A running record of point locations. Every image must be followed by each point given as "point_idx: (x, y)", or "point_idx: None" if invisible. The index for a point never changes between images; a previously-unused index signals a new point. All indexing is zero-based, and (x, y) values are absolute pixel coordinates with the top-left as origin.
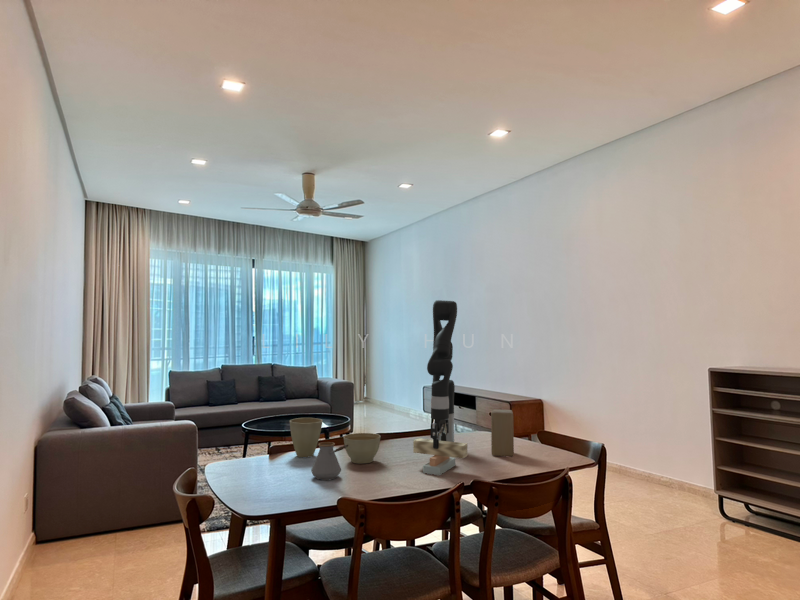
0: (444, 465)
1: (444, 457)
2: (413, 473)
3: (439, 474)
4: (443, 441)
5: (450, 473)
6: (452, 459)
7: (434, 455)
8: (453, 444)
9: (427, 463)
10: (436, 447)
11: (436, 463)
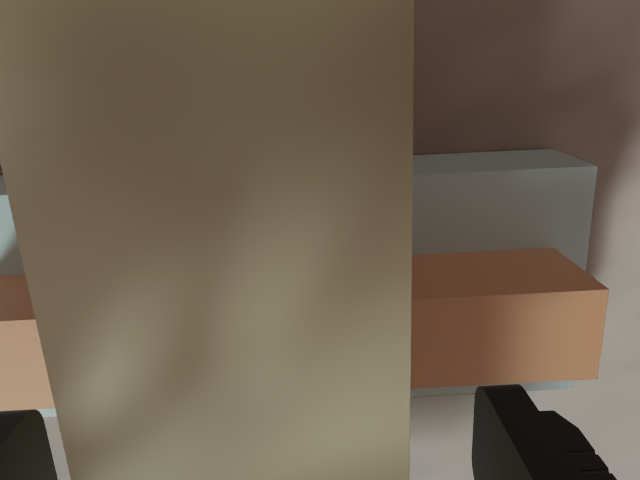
0: None
1: None
2: (578, 417)
3: (557, 151)
4: (142, 472)
5: None
6: None
7: None
8: (377, 50)
9: (449, 391)
10: (556, 418)
11: (517, 260)
